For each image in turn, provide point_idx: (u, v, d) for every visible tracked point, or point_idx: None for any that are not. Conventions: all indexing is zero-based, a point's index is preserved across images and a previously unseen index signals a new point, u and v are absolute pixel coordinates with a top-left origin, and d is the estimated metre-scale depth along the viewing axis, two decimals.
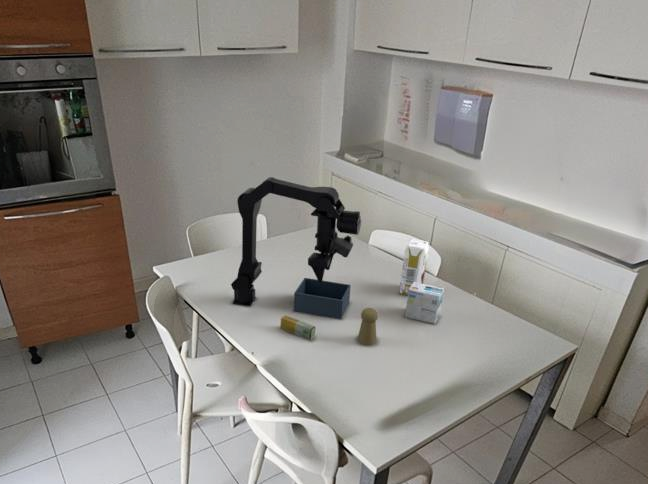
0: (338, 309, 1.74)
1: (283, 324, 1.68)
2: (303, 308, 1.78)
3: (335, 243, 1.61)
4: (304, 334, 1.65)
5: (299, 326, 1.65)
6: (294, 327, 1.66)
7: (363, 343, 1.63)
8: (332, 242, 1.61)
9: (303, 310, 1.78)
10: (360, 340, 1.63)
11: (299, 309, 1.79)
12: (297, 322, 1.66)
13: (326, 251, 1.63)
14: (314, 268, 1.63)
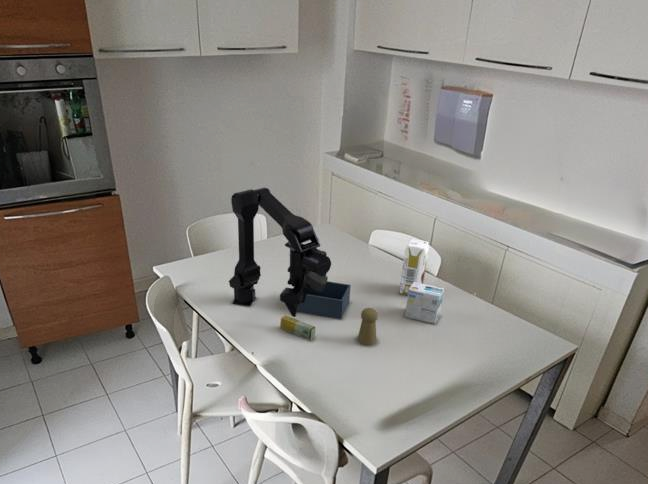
0: (338, 309, 1.74)
1: (283, 324, 1.68)
2: (303, 308, 1.78)
3: (308, 278, 1.54)
4: (304, 334, 1.65)
5: (299, 326, 1.65)
6: (294, 327, 1.66)
7: (363, 343, 1.63)
8: (305, 277, 1.54)
9: (303, 310, 1.78)
10: (360, 340, 1.63)
11: (299, 309, 1.79)
12: (297, 322, 1.65)
13: (299, 286, 1.56)
14: (287, 303, 1.56)
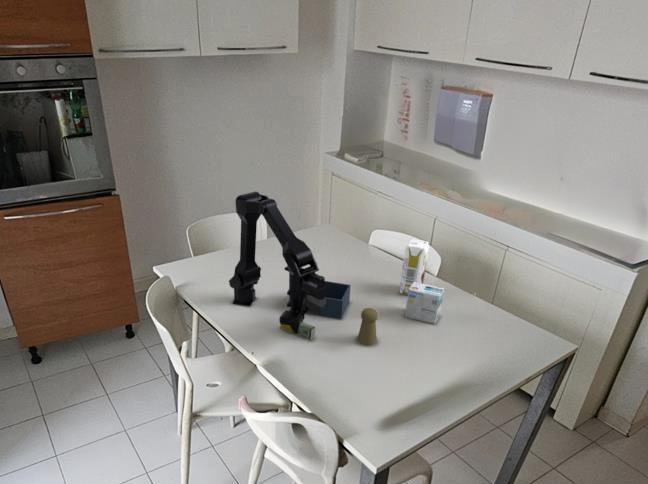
0: (338, 309, 1.74)
1: None
2: None
3: (307, 301, 1.58)
4: (304, 334, 1.65)
5: (299, 326, 1.65)
6: None
7: (363, 343, 1.63)
8: (304, 300, 1.58)
9: None
10: (360, 340, 1.63)
11: None
12: None
13: (298, 308, 1.60)
14: None
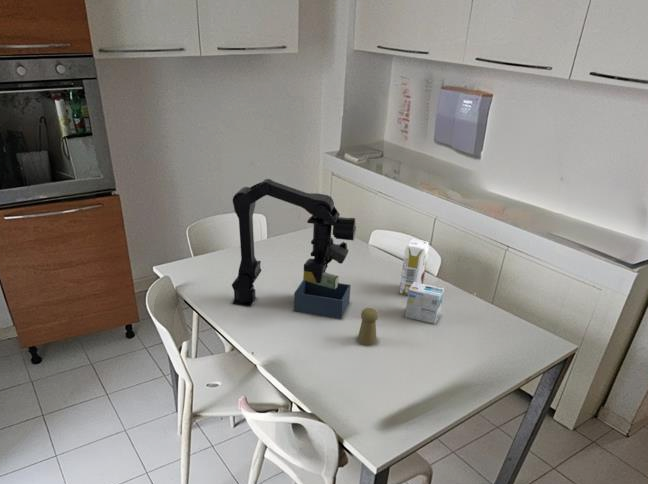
0: (338, 309, 1.74)
1: (306, 276, 1.74)
2: (303, 308, 1.78)
3: (330, 249, 1.65)
4: (328, 284, 1.72)
5: (322, 276, 1.71)
6: None
7: (363, 343, 1.63)
8: (328, 248, 1.65)
9: (303, 310, 1.78)
10: (360, 340, 1.63)
11: (299, 309, 1.79)
12: None
13: (322, 257, 1.67)
14: None
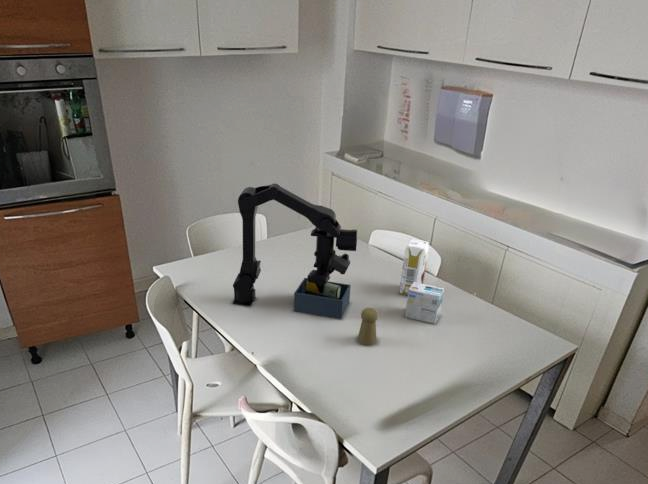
0: (338, 309, 1.74)
1: (309, 286, 1.79)
2: (303, 308, 1.78)
3: (333, 261, 1.70)
4: (331, 294, 1.77)
5: (325, 286, 1.76)
6: None
7: (363, 343, 1.63)
8: (330, 260, 1.70)
9: (303, 310, 1.78)
10: (360, 340, 1.63)
11: (299, 309, 1.79)
12: None
13: (324, 268, 1.72)
14: None
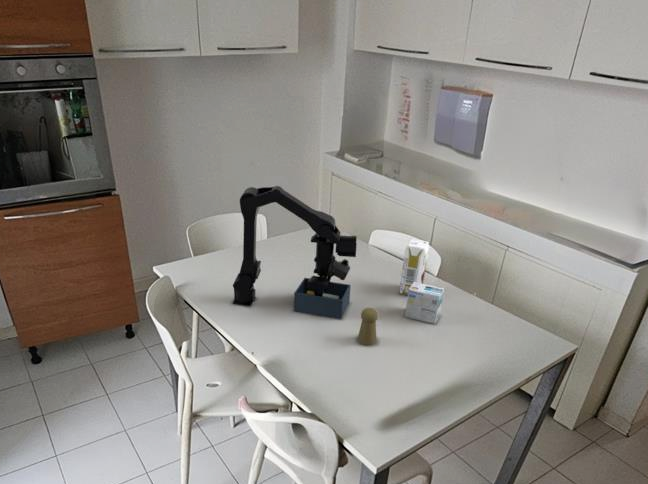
0: (338, 309, 1.74)
1: None
2: (303, 308, 1.78)
3: (333, 267, 1.71)
4: None
5: (326, 297, 1.79)
6: None
7: (363, 343, 1.63)
8: (330, 266, 1.71)
9: (303, 310, 1.78)
10: (360, 340, 1.63)
11: (299, 309, 1.79)
12: (323, 295, 1.80)
13: (324, 274, 1.73)
14: (314, 289, 1.74)
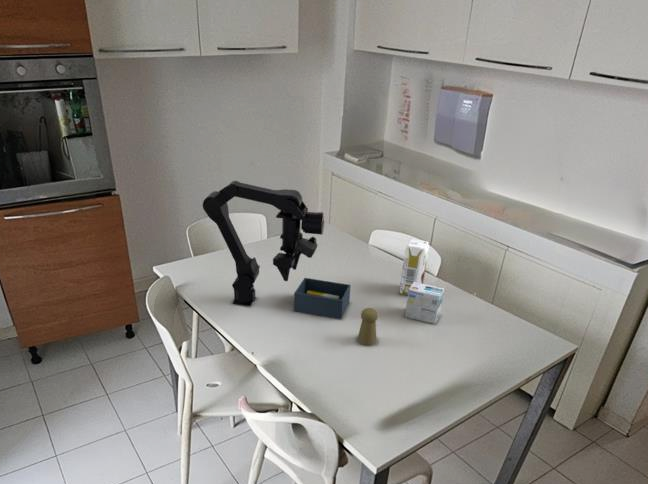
0: (338, 309, 1.74)
1: None
2: (303, 308, 1.78)
3: (299, 244, 1.67)
4: None
5: (326, 297, 1.79)
6: None
7: (363, 343, 1.63)
8: (296, 243, 1.67)
9: (303, 310, 1.78)
10: (360, 340, 1.63)
11: (299, 309, 1.79)
12: (323, 295, 1.80)
13: (291, 251, 1.69)
14: (279, 268, 1.69)
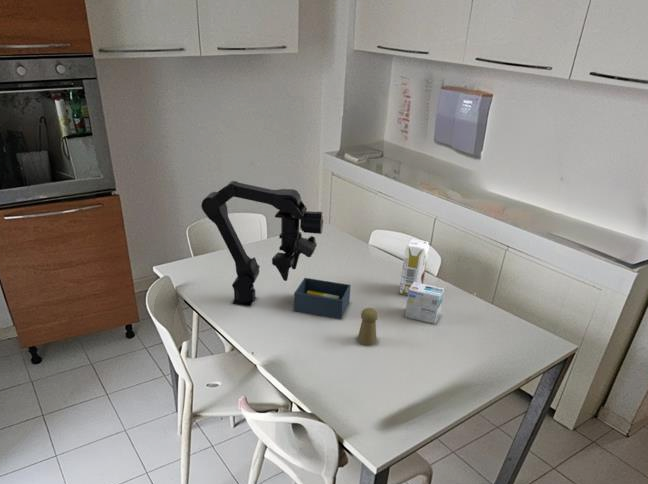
0: (338, 309, 1.74)
1: None
2: (303, 308, 1.78)
3: (298, 243, 1.67)
4: None
5: (326, 297, 1.79)
6: None
7: (363, 343, 1.63)
8: (295, 242, 1.67)
9: (303, 310, 1.78)
10: (360, 340, 1.63)
11: (299, 309, 1.79)
12: (323, 295, 1.80)
13: (290, 251, 1.69)
14: (279, 267, 1.69)
